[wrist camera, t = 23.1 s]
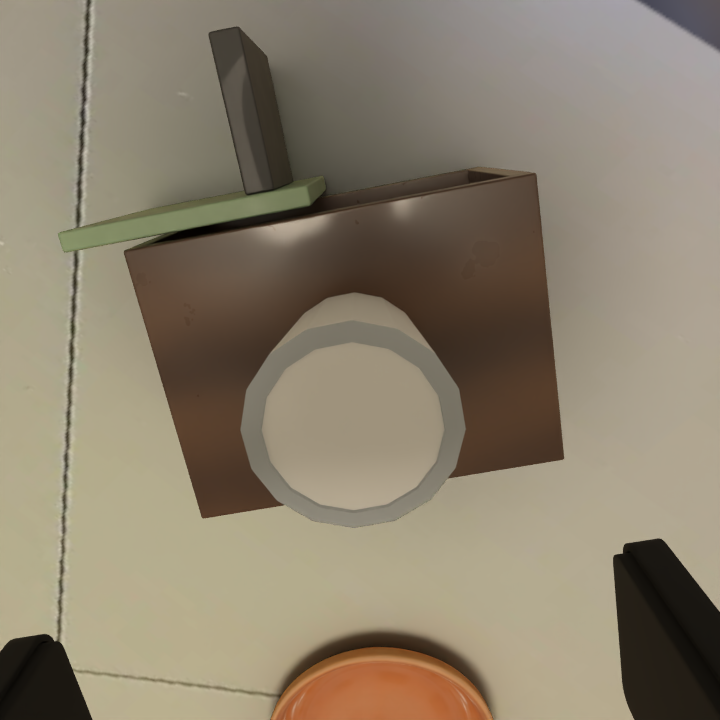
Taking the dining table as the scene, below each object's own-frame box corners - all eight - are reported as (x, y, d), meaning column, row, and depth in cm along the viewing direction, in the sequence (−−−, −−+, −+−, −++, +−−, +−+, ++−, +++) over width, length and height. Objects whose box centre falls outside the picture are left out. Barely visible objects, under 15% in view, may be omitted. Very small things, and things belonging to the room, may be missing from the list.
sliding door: (115, 94, 34) (2, 68, 23) (300, 57, 34) (272, 12, 23) (151, 224, 36) (62, 253, 25) (326, 190, 36) (311, 205, 25)
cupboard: (197, 220, 36) (122, 251, 25) (480, 166, 35) (536, 172, 24) (247, 414, 40) (201, 519, 28) (505, 370, 39) (564, 460, 28)
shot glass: (241, 316, 26) (199, 374, 19) (402, 249, 25) (417, 284, 18) (312, 460, 28) (297, 559, 21) (463, 402, 27) (497, 485, 20)
